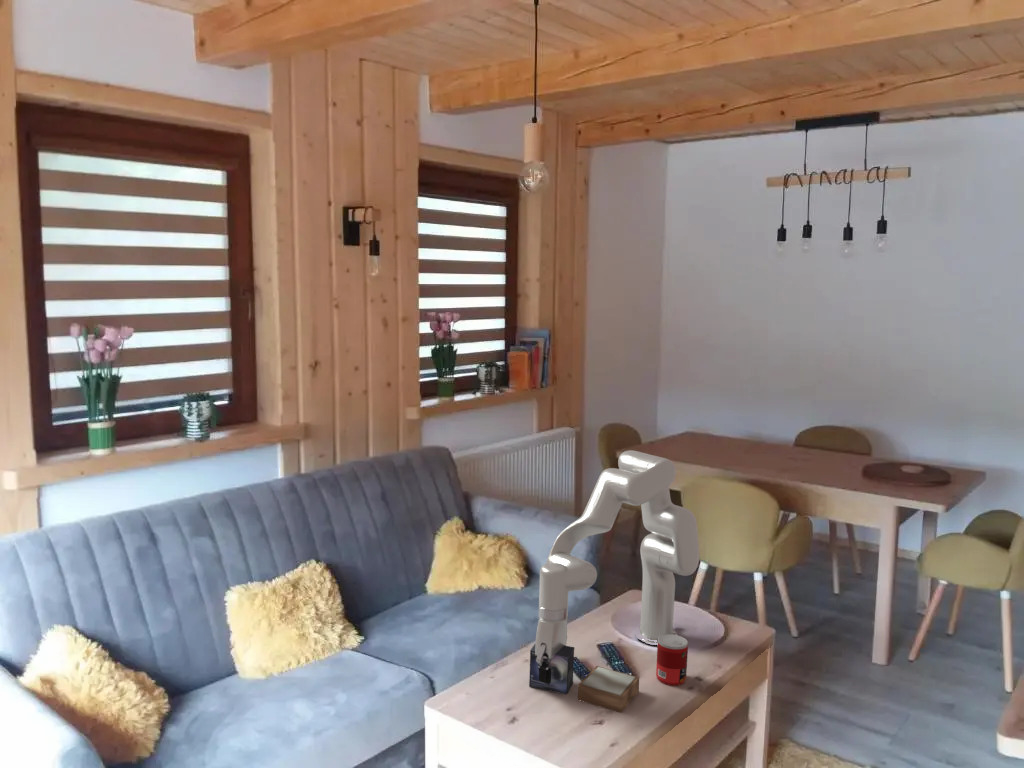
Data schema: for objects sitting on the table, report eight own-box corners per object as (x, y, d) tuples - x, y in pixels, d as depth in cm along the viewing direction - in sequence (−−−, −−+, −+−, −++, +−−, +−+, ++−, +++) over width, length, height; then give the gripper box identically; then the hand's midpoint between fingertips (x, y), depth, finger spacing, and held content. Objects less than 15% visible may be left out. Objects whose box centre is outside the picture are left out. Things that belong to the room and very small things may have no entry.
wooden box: (596, 679, 225) (596, 664, 224) (638, 691, 219) (639, 676, 218) (577, 699, 214) (577, 684, 214) (621, 712, 209) (622, 696, 208)
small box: (527, 687, 220) (528, 649, 219) (535, 676, 226) (536, 639, 225) (566, 695, 217) (568, 657, 215) (573, 683, 223) (575, 646, 221)
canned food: (686, 687, 222) (688, 648, 220) (655, 684, 223) (657, 645, 222) (686, 674, 229) (688, 635, 228) (656, 670, 231) (658, 632, 229)
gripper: (555, 597, 228) (553, 659, 230) (524, 620, 213) (522, 686, 215) (580, 603, 224) (578, 666, 227) (551, 627, 209) (549, 694, 212)
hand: (551, 675), depth 221 cm, fingers closed on small box, 6 cm apart
